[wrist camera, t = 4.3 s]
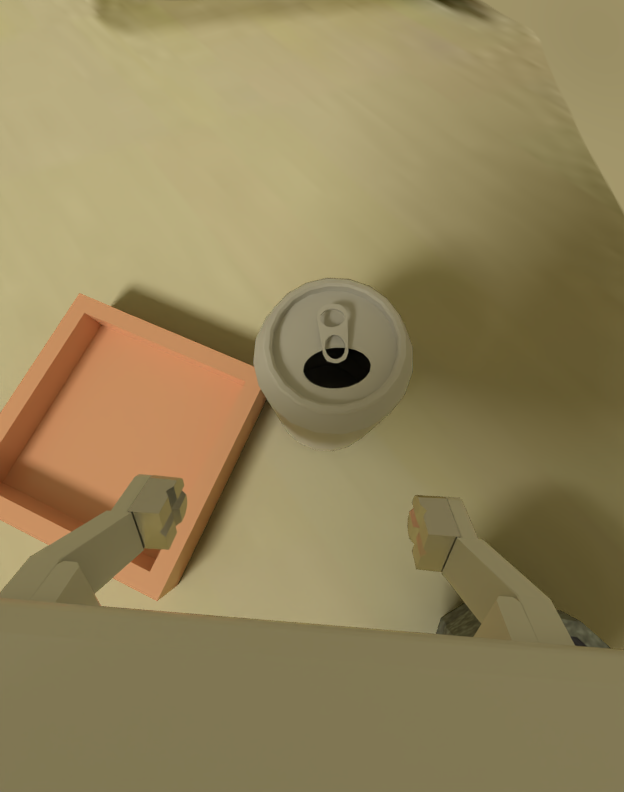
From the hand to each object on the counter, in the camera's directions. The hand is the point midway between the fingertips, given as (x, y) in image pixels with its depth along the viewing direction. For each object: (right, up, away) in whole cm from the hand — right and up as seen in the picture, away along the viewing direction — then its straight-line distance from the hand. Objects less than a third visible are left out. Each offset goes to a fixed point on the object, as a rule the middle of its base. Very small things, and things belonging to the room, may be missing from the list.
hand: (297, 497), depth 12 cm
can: (+2, +3, +14) cm, 14 cm away
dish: (-13, +1, +13) cm, 18 cm away
